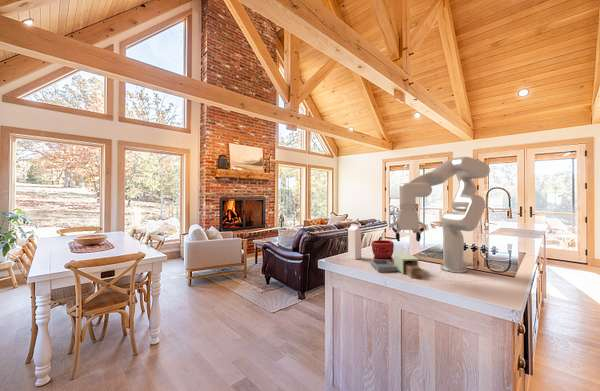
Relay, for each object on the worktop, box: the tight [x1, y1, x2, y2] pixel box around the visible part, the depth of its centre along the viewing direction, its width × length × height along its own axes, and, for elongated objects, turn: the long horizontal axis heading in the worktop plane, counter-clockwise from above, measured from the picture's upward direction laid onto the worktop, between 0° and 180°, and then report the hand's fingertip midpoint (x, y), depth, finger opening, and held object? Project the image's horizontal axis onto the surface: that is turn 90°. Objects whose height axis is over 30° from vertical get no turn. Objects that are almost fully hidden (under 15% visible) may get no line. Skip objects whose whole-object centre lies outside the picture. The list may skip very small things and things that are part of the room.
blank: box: [404, 263, 422, 279], centre depth 134 cm, size 5×10×5 cm, turn 1°
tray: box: [370, 259, 398, 273], centre depth 147 cm, size 10×15×3 cm, turn 0°
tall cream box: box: [393, 252, 420, 275], centre depth 142 cm, size 8×12×8 cm
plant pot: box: [371, 239, 395, 262], centre depth 163 cm, size 13×13×12 cm
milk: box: [347, 223, 362, 260], centre depth 169 cm, size 6×6×22 cm
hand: (408, 240), depth 132 cm, fingers open, 9 cm apart
